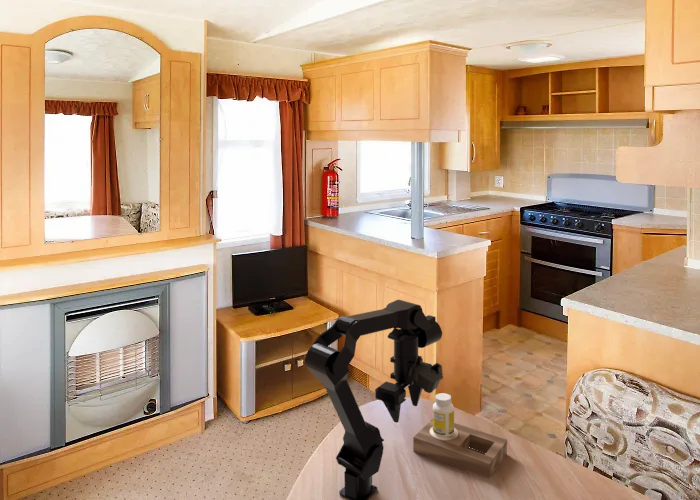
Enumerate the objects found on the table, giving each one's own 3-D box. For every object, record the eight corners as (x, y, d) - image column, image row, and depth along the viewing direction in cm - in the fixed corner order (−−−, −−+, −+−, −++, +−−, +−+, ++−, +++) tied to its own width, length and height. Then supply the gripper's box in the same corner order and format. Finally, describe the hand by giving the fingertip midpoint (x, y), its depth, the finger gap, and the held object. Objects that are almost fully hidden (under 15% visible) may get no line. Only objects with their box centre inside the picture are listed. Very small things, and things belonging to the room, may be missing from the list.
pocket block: (488, 479, 124) (489, 462, 123) (413, 451, 136) (413, 435, 135) (506, 454, 134) (507, 438, 133) (434, 429, 145) (434, 415, 144)
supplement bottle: (450, 425, 139) (450, 390, 137) (457, 436, 134) (457, 400, 132) (430, 427, 139) (430, 392, 137) (436, 438, 133) (436, 402, 131)
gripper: (417, 376, 113) (416, 442, 117) (454, 347, 128) (453, 406, 131) (373, 364, 120) (374, 427, 123) (413, 338, 135) (413, 394, 138)
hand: (405, 413), depth 129 cm, fingers open, 9 cm apart
